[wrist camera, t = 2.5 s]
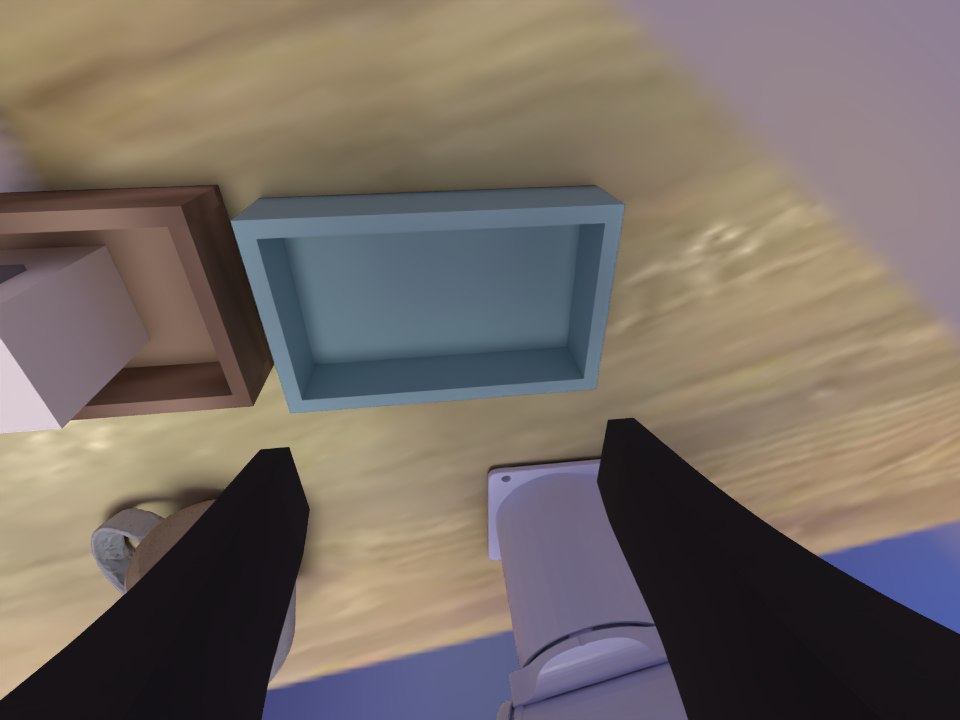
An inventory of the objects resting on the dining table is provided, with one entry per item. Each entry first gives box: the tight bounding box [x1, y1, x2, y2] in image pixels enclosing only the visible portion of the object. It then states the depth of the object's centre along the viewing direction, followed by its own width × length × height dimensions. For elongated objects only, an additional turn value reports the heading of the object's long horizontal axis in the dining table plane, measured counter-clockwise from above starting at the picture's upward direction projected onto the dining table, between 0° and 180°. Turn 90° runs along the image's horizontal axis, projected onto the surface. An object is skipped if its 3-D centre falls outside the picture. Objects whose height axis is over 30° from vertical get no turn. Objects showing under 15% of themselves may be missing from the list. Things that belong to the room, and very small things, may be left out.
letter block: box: [0, 245, 150, 433], centre depth 15 cm, size 4×4×6 cm
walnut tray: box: [0, 185, 274, 420], centre depth 16 cm, size 13×8×3 cm, turn 91°
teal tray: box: [231, 185, 625, 413], centre depth 18 cm, size 13×8×3 cm, turn 91°
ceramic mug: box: [91, 499, 296, 682], centre depth 23 cm, size 11×8×8 cm
